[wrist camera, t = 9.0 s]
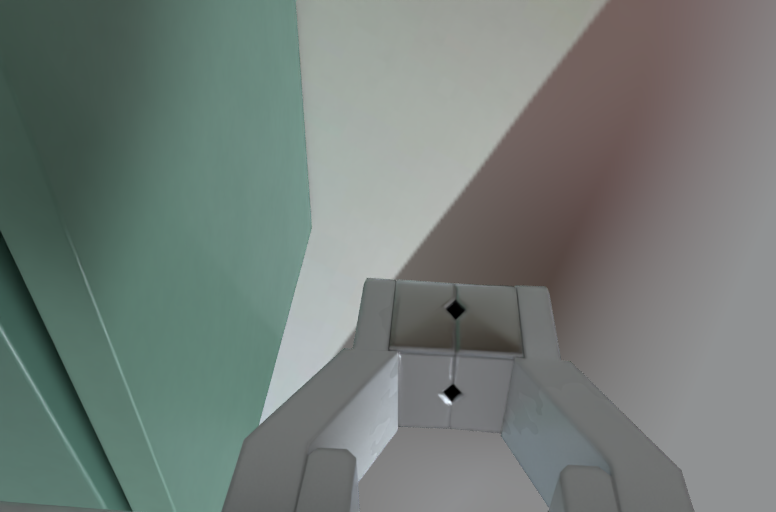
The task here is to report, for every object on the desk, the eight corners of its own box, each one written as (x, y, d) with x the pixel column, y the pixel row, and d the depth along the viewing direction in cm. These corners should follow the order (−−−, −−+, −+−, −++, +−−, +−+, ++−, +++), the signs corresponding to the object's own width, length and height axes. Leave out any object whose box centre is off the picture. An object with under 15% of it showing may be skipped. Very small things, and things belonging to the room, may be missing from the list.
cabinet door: (403, -366, 16) (270, -786, 4) (387, 232, 29) (346, 614, 16) (232, -369, 17) (-483, -783, 4) (291, 227, 29) (173, 601, 16)
